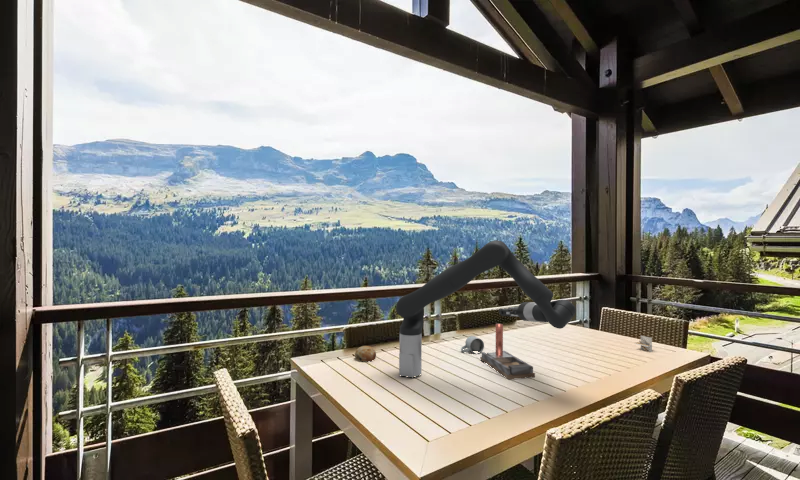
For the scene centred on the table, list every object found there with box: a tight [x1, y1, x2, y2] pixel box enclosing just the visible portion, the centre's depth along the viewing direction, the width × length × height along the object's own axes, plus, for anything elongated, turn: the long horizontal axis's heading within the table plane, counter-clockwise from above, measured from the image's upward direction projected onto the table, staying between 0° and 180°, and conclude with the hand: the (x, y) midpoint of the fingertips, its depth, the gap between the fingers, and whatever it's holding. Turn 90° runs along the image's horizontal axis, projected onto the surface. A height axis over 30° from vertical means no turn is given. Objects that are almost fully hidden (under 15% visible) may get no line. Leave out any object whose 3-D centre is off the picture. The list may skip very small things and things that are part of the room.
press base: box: [480, 350, 536, 380], centre depth 171 cm, size 26×12×5 cm, turn 13°
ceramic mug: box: [460, 335, 485, 354], centre depth 196 cm, size 11×8×8 cm
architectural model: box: [634, 335, 653, 353], centre depth 199 cm, size 3×7×7 cm, turn 27°
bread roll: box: [354, 345, 377, 362], centre depth 184 cm, size 10×10×8 cm
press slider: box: [486, 323, 512, 363], centre depth 177 cm, size 8×8×16 cm
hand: (508, 310), depth 170 cm, fingers open, 8 cm apart
